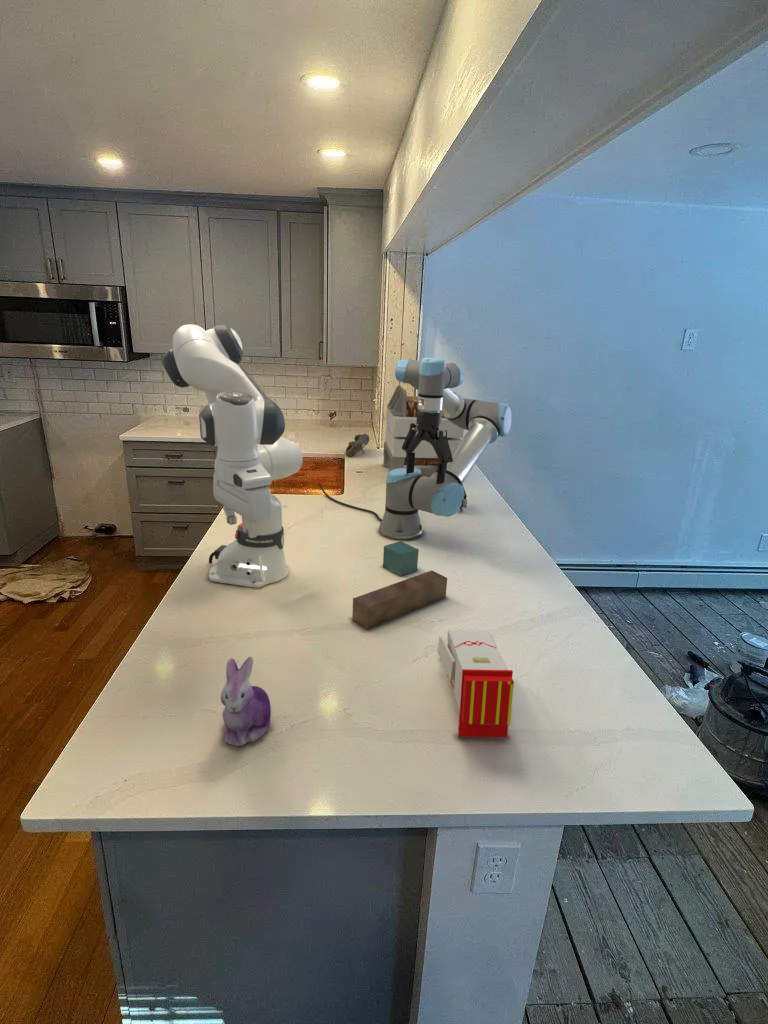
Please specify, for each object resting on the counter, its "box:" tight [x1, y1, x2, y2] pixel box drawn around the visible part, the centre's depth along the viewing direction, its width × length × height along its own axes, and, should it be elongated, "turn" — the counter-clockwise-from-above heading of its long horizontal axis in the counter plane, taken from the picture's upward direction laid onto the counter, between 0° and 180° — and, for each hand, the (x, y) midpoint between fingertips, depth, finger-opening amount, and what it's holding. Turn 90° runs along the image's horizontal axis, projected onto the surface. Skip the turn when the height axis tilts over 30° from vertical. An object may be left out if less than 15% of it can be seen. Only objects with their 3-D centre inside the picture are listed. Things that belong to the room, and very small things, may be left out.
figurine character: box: [459, 486, 468, 512], centre depth 228 cm, size 7×8×15 cm
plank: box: [351, 570, 448, 630], centre depth 150 cm, size 28×6×6 cm, turn 130°
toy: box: [437, 628, 515, 738], centre depth 117 cm, size 12×13×30 cm
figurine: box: [220, 656, 272, 747], centre depth 102 cm, size 9×10×15 cm
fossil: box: [345, 433, 370, 458], centre depth 306 cm, size 22×10×15 cm
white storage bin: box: [383, 384, 465, 471], centre depth 268 cm, size 34×33×41 cm
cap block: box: [382, 540, 420, 577], centre depth 172 cm, size 7×8×7 cm
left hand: (241, 530), depth 126 cm, fingers open, 8 cm apart
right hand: (424, 478), depth 179 cm, fingers open, 13 cm apart
